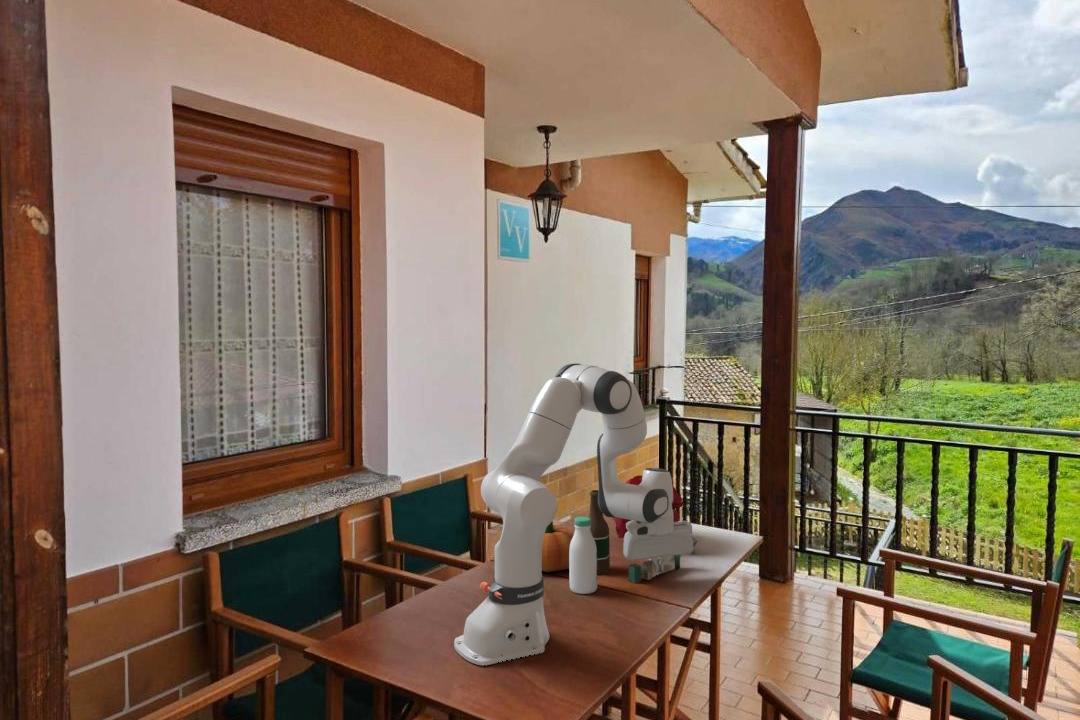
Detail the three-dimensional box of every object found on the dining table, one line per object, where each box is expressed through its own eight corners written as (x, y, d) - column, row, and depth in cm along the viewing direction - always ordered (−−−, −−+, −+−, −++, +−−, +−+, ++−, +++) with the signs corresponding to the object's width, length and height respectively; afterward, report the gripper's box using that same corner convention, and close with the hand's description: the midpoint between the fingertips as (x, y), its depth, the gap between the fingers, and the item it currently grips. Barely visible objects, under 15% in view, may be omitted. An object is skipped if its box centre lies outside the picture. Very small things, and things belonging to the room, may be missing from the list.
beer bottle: (597, 577, 196) (596, 495, 195) (578, 570, 202) (577, 491, 201) (615, 570, 201) (614, 491, 200) (596, 563, 207) (595, 486, 206)
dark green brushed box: (635, 583, 191) (635, 568, 191) (628, 580, 193) (628, 565, 193) (643, 580, 193) (643, 565, 193) (637, 578, 195) (637, 562, 195)
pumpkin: (535, 551, 220) (534, 505, 219) (589, 559, 211) (589, 512, 210) (506, 571, 202) (505, 522, 201) (565, 581, 194) (564, 529, 193)
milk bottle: (595, 595, 183) (594, 523, 182) (567, 593, 185) (566, 521, 183) (598, 584, 191) (598, 515, 189) (571, 583, 192) (571, 513, 191)
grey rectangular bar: (670, 567, 202) (669, 550, 202) (675, 569, 200) (675, 551, 200) (642, 578, 194) (642, 560, 194) (648, 579, 192) (648, 562, 192)
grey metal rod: (639, 580, 193) (639, 579, 193) (637, 579, 194) (637, 577, 194) (674, 570, 201) (674, 568, 201) (671, 568, 202) (671, 567, 202)
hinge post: (676, 570, 200) (676, 542, 200) (669, 568, 203) (669, 540, 202) (682, 568, 202) (682, 540, 201) (676, 566, 204) (675, 538, 204)
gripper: (687, 516, 197) (688, 562, 198) (620, 523, 193) (621, 570, 194) (696, 523, 191) (697, 570, 192) (628, 530, 187) (629, 579, 188)
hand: (658, 570), depth 193 cm, fingers closed
